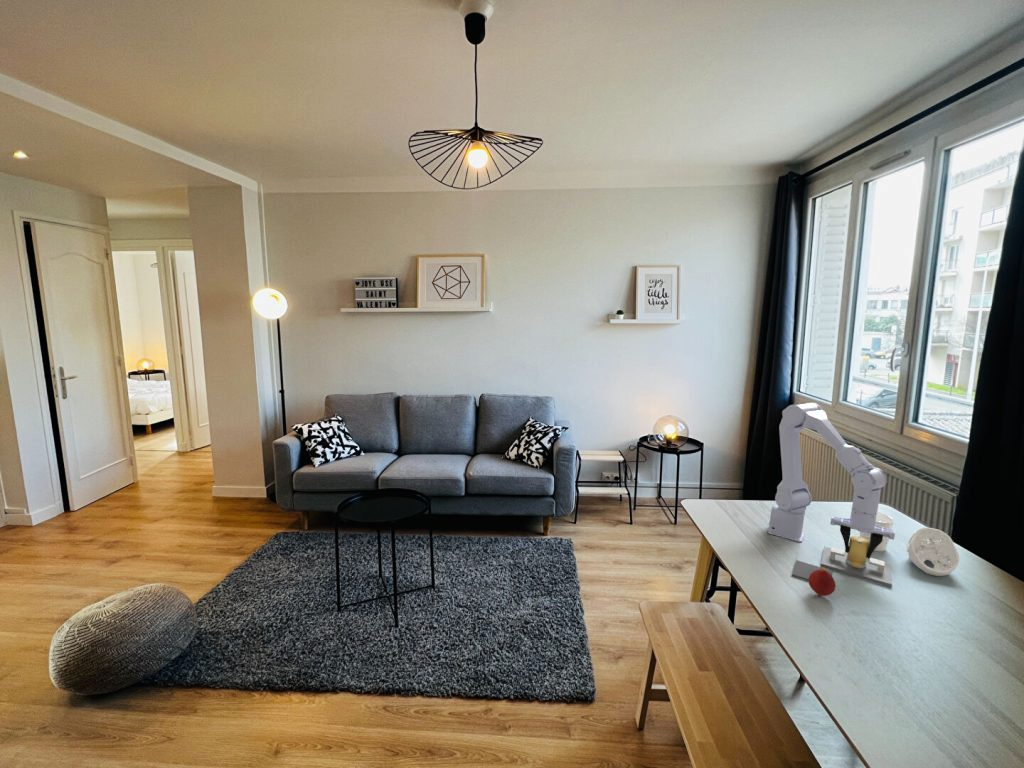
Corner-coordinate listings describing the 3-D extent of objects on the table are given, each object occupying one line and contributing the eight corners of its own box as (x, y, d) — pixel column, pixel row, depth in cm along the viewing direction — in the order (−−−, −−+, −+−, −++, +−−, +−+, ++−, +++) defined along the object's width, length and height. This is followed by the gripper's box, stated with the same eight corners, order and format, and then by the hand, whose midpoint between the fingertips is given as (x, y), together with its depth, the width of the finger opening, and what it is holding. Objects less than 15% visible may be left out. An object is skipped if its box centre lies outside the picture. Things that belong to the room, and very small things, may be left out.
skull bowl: (942, 551, 140) (956, 529, 132) (949, 595, 131) (965, 574, 124) (898, 542, 145) (909, 520, 138) (902, 583, 136) (914, 562, 129)
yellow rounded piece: (846, 552, 138) (850, 531, 137) (865, 557, 135) (868, 536, 134) (846, 564, 132) (850, 542, 130) (866, 569, 129) (869, 547, 128)
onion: (829, 591, 123) (833, 564, 121) (836, 604, 117) (840, 576, 116) (804, 586, 124) (808, 559, 123) (810, 599, 119) (814, 571, 118)
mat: (792, 576, 129) (792, 574, 129) (796, 561, 136) (796, 559, 136) (830, 588, 124) (830, 586, 124) (832, 572, 131) (833, 570, 131)
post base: (820, 566, 134) (822, 555, 133) (823, 549, 143) (825, 538, 143) (891, 587, 124) (893, 575, 124) (889, 567, 134) (891, 556, 133)
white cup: (877, 540, 149) (882, 511, 147) (894, 553, 141) (900, 523, 139) (851, 538, 150) (855, 510, 148) (867, 552, 142) (872, 521, 140)
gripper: (832, 508, 132) (826, 551, 134) (898, 522, 123) (890, 569, 126) (833, 499, 137) (827, 541, 140) (896, 513, 129) (889, 557, 131)
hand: (857, 553), depth 133 cm, fingers closed on yellow rounded piece, 4 cm apart
